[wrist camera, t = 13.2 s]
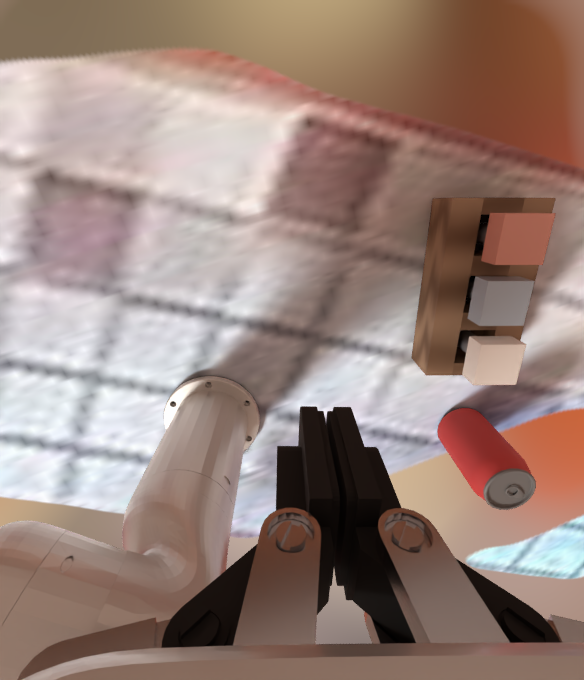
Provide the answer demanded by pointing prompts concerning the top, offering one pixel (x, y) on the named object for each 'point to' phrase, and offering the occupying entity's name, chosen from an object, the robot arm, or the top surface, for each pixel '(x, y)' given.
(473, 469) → the beer can
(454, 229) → the walnut console
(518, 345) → the white key
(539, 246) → the brick-red key
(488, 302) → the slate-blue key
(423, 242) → the top surface
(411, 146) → the top surface
